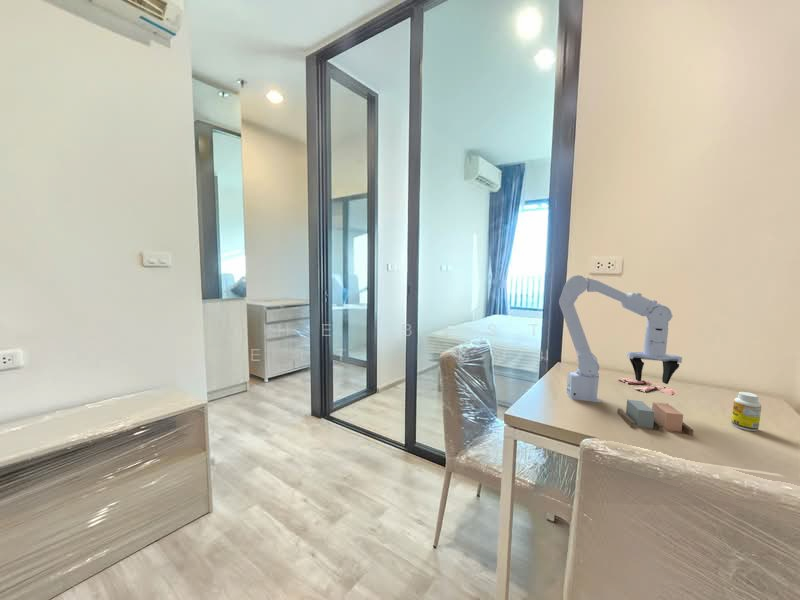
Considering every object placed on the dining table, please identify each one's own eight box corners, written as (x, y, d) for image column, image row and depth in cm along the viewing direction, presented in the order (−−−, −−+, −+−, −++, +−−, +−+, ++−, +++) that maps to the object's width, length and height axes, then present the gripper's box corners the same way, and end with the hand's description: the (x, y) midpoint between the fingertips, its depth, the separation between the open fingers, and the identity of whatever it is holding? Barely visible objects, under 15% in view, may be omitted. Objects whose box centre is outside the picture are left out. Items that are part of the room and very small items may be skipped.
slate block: (637, 426, 94) (638, 409, 94) (625, 415, 102) (627, 399, 102) (653, 428, 93) (654, 411, 93) (640, 416, 101) (641, 401, 101)
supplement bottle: (729, 421, 101) (733, 389, 100) (756, 427, 97) (760, 394, 96) (732, 427, 96) (736, 394, 96) (759, 434, 93) (764, 399, 92)
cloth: (690, 398, 121) (691, 392, 121) (630, 396, 121) (631, 390, 121) (649, 380, 141) (650, 374, 141) (598, 378, 142) (599, 373, 141)
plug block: (664, 429, 93) (666, 412, 92) (651, 417, 101) (652, 402, 100) (681, 431, 92) (683, 414, 91) (666, 419, 100) (667, 403, 99)
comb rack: (630, 428, 94) (631, 422, 94) (617, 414, 104) (617, 408, 103) (692, 436, 90) (693, 429, 90) (672, 421, 100) (673, 414, 100)
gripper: (635, 341, 104) (631, 383, 105) (689, 345, 100) (684, 388, 102) (626, 337, 111) (622, 376, 112) (676, 341, 107) (672, 381, 108)
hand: (651, 381), depth 107 cm, fingers open, 7 cm apart
